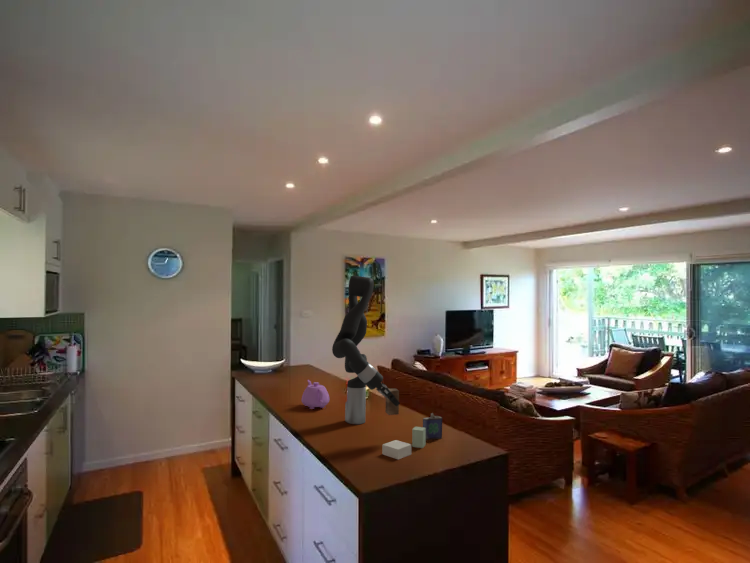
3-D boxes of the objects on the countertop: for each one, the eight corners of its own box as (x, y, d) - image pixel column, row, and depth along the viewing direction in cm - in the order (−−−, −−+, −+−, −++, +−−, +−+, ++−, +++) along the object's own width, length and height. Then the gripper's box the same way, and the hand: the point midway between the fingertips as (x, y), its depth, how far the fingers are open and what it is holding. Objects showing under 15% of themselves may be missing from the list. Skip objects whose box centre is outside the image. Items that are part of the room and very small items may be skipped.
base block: (382, 455, 163) (382, 444, 163) (395, 450, 169) (395, 439, 169) (398, 460, 158) (398, 449, 158) (411, 455, 164) (411, 444, 164)
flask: (424, 440, 181) (424, 415, 181) (421, 438, 184) (421, 413, 184) (443, 438, 184) (443, 413, 184) (440, 436, 186) (440, 412, 187)
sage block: (412, 446, 172) (412, 429, 173) (414, 443, 177) (415, 426, 177) (422, 448, 171) (423, 430, 171) (425, 444, 175) (425, 427, 176)
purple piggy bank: (295, 404, 243) (295, 380, 244) (320, 401, 250) (321, 378, 251) (308, 412, 224) (308, 386, 224) (335, 409, 231) (335, 384, 232)
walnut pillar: (388, 414, 177) (388, 390, 177) (385, 412, 181) (385, 388, 182) (398, 414, 178) (399, 390, 178) (395, 411, 182) (395, 388, 183)
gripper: (380, 372, 172) (408, 400, 174) (371, 366, 185) (397, 393, 188) (367, 385, 170) (395, 414, 173) (359, 379, 184) (385, 406, 186)
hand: (396, 403), depth 180 cm, fingers closed on walnut pillar, 4 cm apart
